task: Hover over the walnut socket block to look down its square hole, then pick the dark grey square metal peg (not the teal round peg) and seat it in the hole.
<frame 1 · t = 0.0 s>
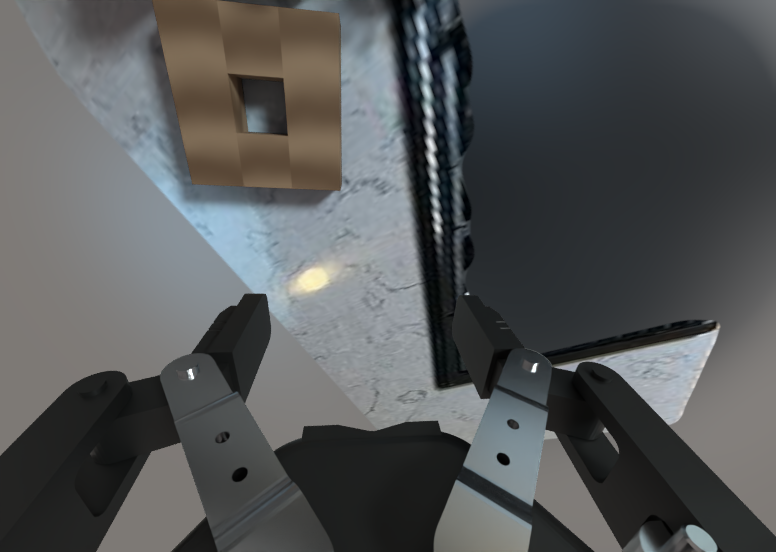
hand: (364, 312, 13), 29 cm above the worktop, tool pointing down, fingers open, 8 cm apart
socket block: (269, 107, 34), on the worktop
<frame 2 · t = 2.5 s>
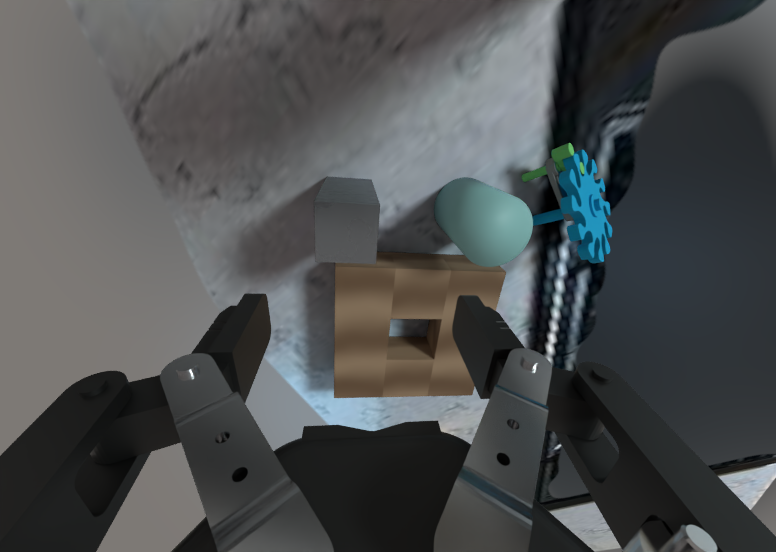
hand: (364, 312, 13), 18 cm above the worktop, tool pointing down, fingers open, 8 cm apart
square peg: (348, 200, 28), on the worktop
socket block: (407, 318, 35), on the worktop
gear: (558, 193, 30), on the worktop
round peg: (462, 207, 30), on the worktop
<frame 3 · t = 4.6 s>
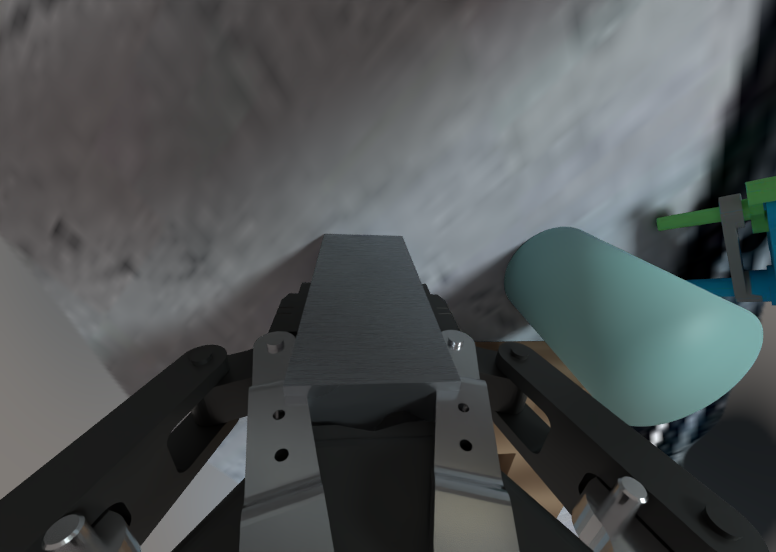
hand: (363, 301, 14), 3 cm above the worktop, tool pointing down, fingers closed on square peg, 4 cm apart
square peg: (362, 270, 17), on the worktop, touching gripper
socket block: (450, 425, 23), on the worktop
gear: (704, 247, 18), on the worktop
round peg: (550, 272, 18), on the worktop
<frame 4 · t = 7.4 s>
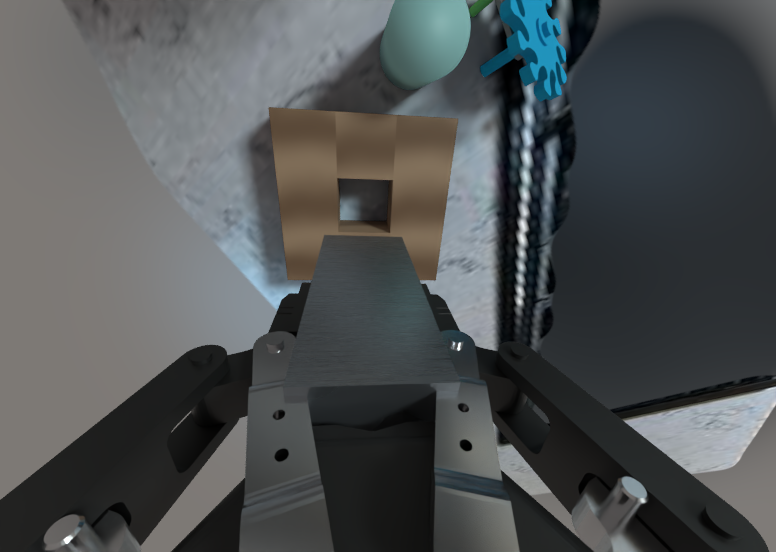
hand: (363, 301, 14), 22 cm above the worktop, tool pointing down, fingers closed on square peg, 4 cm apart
square peg: (362, 270, 17), point 18 cm above the worktop, touching gripper
socket block: (363, 197, 33), on the worktop
gear: (511, 40, 28), on the worktop
round peg: (410, 53, 27), on the worktop
when the fingers open (5 cm above the worktop, at t = 10.2 s): square peg drops 2 cm, resting in socket block.
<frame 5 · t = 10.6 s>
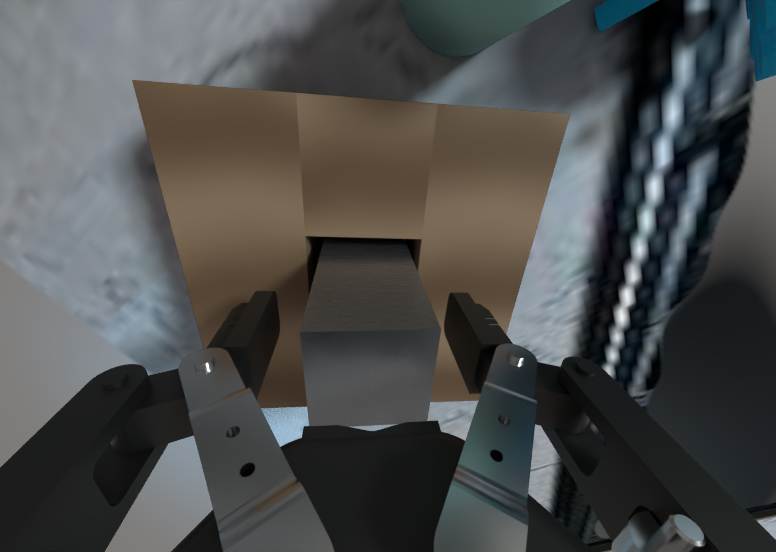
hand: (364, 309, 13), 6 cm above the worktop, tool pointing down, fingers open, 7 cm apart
square peg: (363, 255, 18), resting in socket block
socket block: (361, 256, 18), on the worktop
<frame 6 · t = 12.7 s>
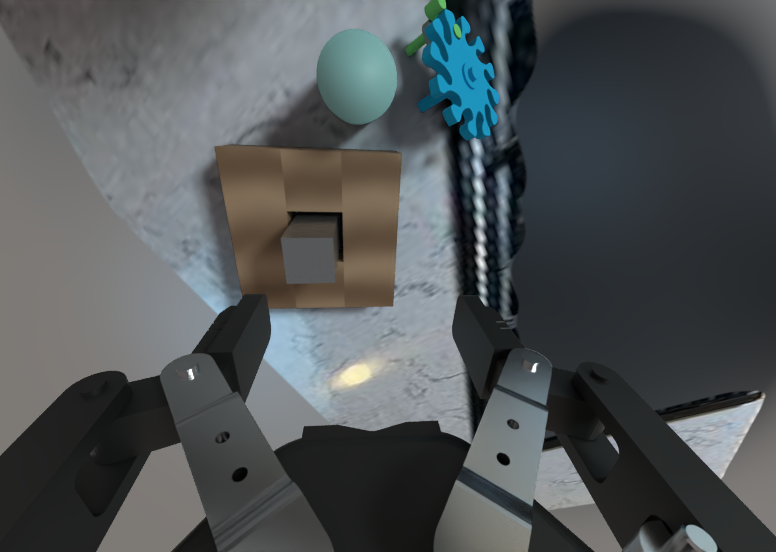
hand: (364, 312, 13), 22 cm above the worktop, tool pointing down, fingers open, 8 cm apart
square peg: (321, 226, 34), resting in socket block
socket block: (320, 226, 34), on the worktop
gear: (448, 79, 29), on the worktop
round peg: (356, 91, 28), on the worktop
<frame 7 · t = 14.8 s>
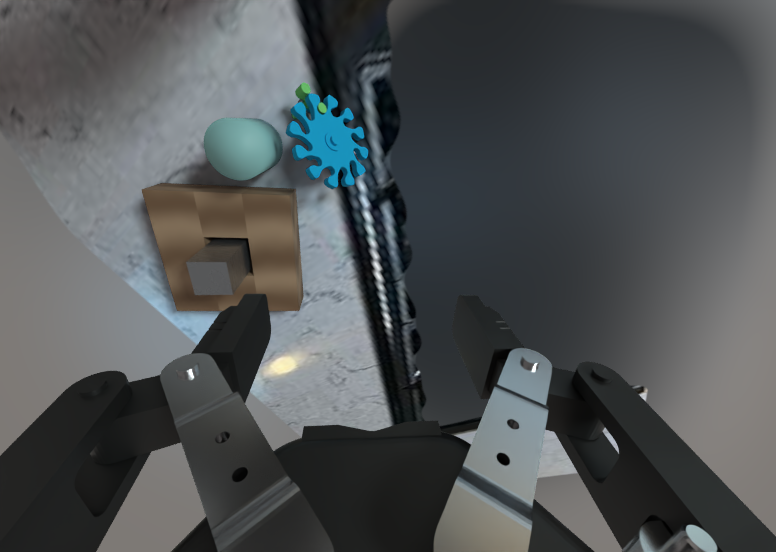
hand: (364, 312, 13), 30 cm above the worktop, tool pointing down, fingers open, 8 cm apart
square peg: (240, 245, 42), resting in socket block
socket block: (240, 245, 42), on the worktop
gear: (330, 136, 37), on the worktop
round peg: (258, 144, 37), on the worktop
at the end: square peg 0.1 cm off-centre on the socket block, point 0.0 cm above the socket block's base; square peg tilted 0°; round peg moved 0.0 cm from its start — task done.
